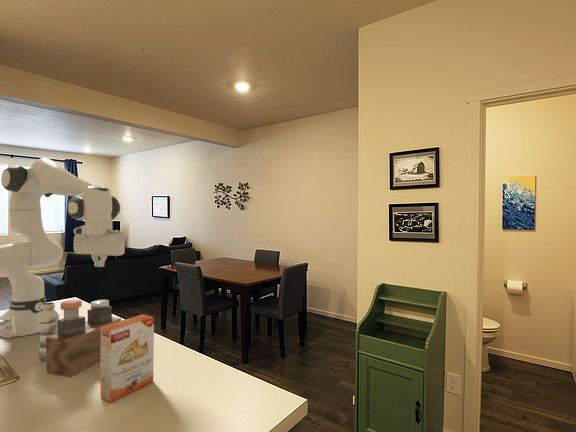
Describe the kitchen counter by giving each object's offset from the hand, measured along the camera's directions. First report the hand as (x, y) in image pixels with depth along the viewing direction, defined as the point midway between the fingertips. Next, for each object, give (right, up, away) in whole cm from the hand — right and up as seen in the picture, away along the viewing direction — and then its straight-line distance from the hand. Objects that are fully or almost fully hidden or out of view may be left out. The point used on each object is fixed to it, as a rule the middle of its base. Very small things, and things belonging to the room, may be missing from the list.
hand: (99, 266), depth 124 cm
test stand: (-2, -33, -5) cm, 33 cm away
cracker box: (+22, -34, -23) cm, 47 cm away
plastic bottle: (-16, -33, -4) cm, 37 cm away
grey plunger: (0, -20, +1) cm, 20 cm away
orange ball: (-3, -17, -11) cm, 20 cm away
